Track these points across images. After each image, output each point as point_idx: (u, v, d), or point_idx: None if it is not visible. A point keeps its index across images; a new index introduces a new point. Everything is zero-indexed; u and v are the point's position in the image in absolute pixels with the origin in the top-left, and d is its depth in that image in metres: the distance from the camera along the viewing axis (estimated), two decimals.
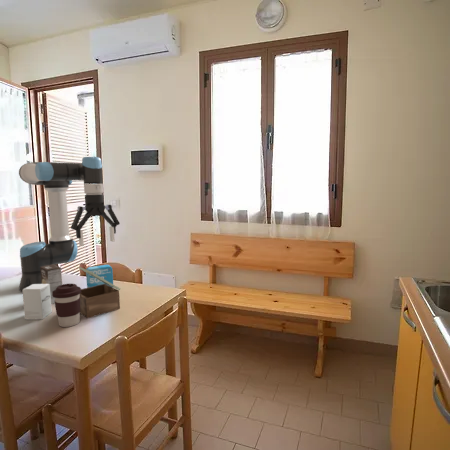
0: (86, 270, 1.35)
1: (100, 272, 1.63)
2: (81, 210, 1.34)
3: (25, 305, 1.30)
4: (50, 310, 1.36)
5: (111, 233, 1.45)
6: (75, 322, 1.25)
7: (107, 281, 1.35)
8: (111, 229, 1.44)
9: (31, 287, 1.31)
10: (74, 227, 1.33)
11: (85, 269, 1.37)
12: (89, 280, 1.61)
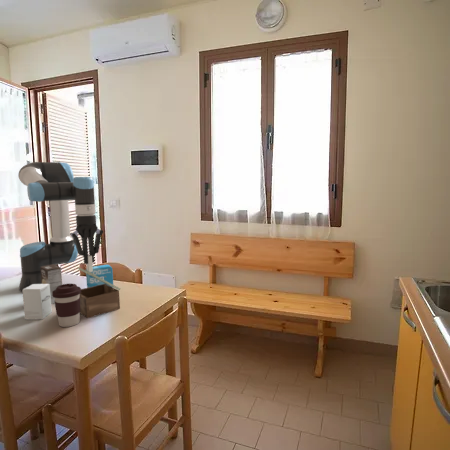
0: (85, 271, 1.35)
1: (100, 272, 1.63)
2: (75, 236, 1.31)
3: (25, 305, 1.30)
4: (50, 310, 1.36)
5: None
6: (75, 322, 1.25)
7: (107, 282, 1.35)
8: None
9: (31, 287, 1.31)
10: (81, 253, 1.33)
11: (84, 270, 1.36)
12: (89, 280, 1.61)
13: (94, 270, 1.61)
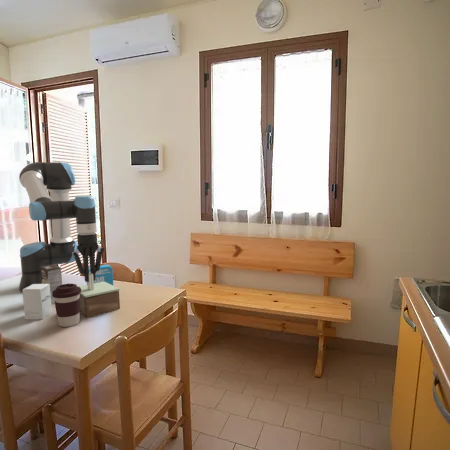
0: None
1: (100, 272, 1.63)
2: (76, 255, 1.32)
3: (25, 305, 1.30)
4: (50, 310, 1.36)
5: None
6: (75, 322, 1.25)
7: (102, 292, 1.34)
8: None
9: (31, 287, 1.31)
10: (82, 272, 1.34)
11: None
12: None
13: None
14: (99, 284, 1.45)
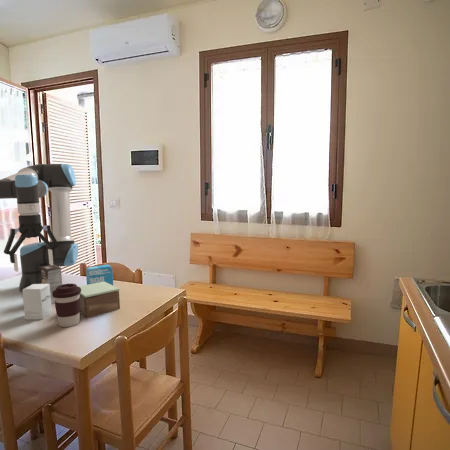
0: None
1: (100, 272, 1.63)
2: (13, 233, 1.24)
3: (25, 305, 1.30)
4: (50, 310, 1.36)
5: (49, 256, 1.35)
6: (75, 322, 1.25)
7: (102, 292, 1.34)
8: (49, 252, 1.34)
9: (31, 287, 1.31)
10: (6, 252, 1.23)
11: None
12: (89, 280, 1.61)
13: (94, 270, 1.61)
14: (99, 284, 1.45)
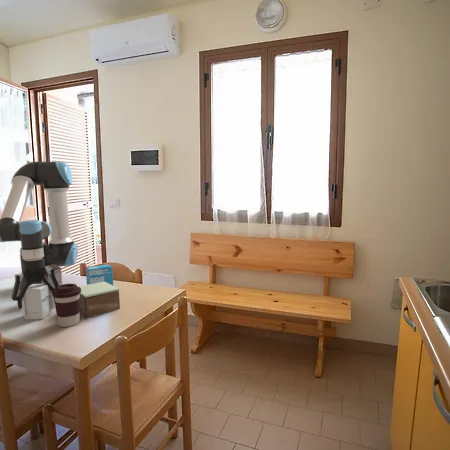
0: None
1: (100, 272, 1.63)
2: (18, 279, 1.27)
3: (25, 305, 1.30)
4: (50, 310, 1.36)
5: (51, 300, 1.36)
6: (75, 322, 1.25)
7: (102, 292, 1.34)
8: (51, 296, 1.36)
9: (31, 287, 1.31)
10: (14, 298, 1.26)
11: None
12: (89, 280, 1.61)
13: (94, 270, 1.61)
14: (99, 284, 1.45)
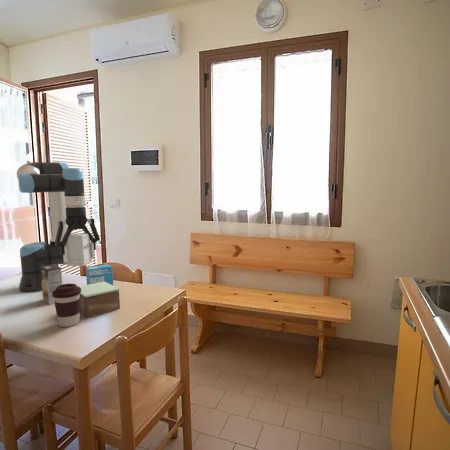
0: None
1: (100, 272, 1.63)
2: (61, 225, 1.29)
3: (67, 252, 1.32)
4: (90, 259, 1.38)
5: (91, 249, 1.38)
6: (75, 322, 1.25)
7: (102, 292, 1.34)
8: (91, 245, 1.38)
9: (73, 234, 1.33)
10: (57, 243, 1.28)
11: None
12: (89, 280, 1.61)
13: (94, 270, 1.61)
14: (99, 284, 1.45)
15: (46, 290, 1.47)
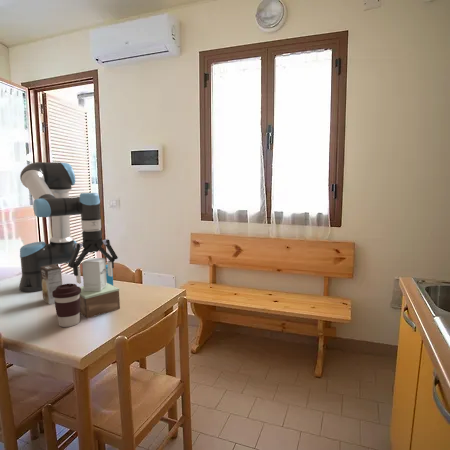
0: None
1: None
2: (78, 247, 1.32)
3: (84, 277, 1.35)
4: (105, 283, 1.42)
5: (109, 268, 1.43)
6: (75, 322, 1.25)
7: (102, 292, 1.34)
8: (109, 264, 1.42)
9: (90, 260, 1.37)
10: (71, 265, 1.30)
11: None
12: None
13: None
14: None
15: (46, 290, 1.47)
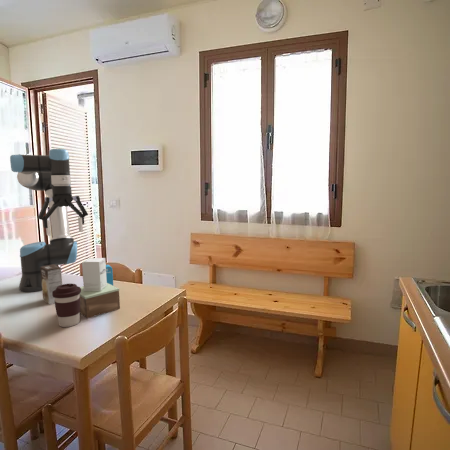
0: None
1: None
2: (48, 201, 1.38)
3: (84, 277, 1.35)
4: (105, 283, 1.42)
5: (79, 224, 1.49)
6: (75, 322, 1.25)
7: (102, 292, 1.34)
8: (79, 220, 1.49)
9: (89, 260, 1.36)
10: (41, 217, 1.37)
11: None
12: None
13: None
14: None
15: (46, 290, 1.47)
